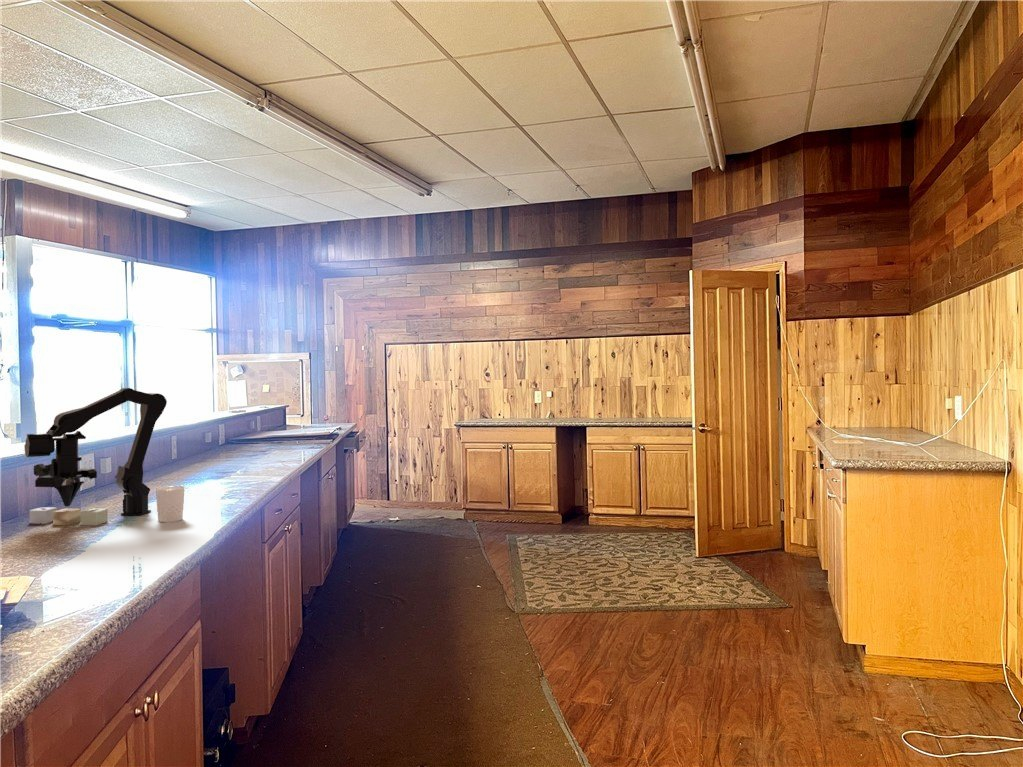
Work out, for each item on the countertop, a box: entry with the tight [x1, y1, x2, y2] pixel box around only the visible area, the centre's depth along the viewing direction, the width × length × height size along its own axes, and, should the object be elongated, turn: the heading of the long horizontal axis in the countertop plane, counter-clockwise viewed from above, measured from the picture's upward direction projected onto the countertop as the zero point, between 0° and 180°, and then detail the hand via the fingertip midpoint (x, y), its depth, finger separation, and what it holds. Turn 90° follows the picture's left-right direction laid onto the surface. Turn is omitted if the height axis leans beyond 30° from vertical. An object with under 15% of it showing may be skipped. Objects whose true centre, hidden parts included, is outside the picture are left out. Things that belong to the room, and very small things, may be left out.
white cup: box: [155, 485, 185, 523], centre depth 216 cm, size 8×8×10 cm
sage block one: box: [80, 508, 109, 526], centre depth 211 cm, size 5×5×4 cm
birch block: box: [52, 507, 82, 526], centre depth 210 cm, size 5×5×4 cm
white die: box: [29, 506, 58, 525], centre depth 212 cm, size 5×5×4 cm
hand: (67, 506), depth 210 cm, fingers closed
